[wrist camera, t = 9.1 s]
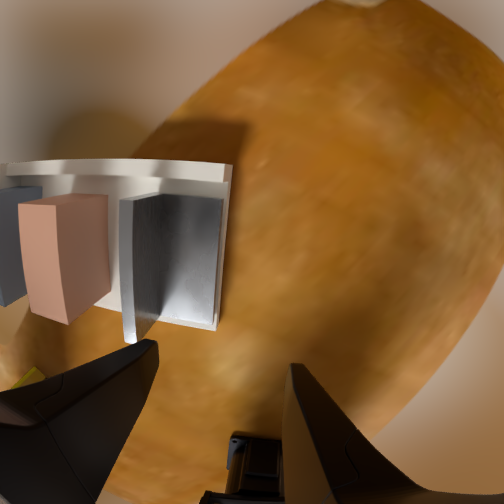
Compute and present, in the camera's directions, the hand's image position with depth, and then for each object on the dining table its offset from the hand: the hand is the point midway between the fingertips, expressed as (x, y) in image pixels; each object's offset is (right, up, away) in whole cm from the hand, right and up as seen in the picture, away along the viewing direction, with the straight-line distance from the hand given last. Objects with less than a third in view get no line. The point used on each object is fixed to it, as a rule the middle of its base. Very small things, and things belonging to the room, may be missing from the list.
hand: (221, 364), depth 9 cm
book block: (-11, +4, +10) cm, 15 cm away
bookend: (-3, +3, +10) cm, 11 cm away
